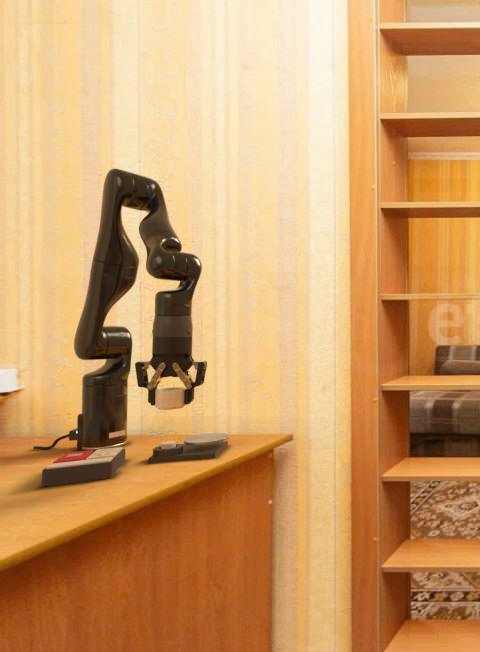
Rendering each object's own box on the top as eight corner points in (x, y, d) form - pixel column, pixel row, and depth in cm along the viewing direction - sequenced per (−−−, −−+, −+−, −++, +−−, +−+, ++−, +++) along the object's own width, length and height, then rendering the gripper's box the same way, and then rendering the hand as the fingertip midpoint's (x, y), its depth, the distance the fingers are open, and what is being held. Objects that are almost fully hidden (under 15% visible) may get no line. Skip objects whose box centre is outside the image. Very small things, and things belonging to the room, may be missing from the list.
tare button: (158, 450, 109) (158, 444, 109) (163, 447, 112) (163, 441, 112) (173, 449, 110) (173, 443, 110) (177, 446, 113) (177, 440, 113)
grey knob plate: (148, 463, 107) (148, 451, 107) (167, 449, 118) (167, 438, 118) (215, 458, 112) (215, 446, 112) (227, 445, 123) (227, 435, 123)
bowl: (150, 410, 101) (150, 391, 101) (161, 405, 106) (161, 387, 106) (181, 409, 103) (181, 390, 103) (190, 404, 108) (191, 386, 108)
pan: (177, 446, 112) (177, 444, 112) (191, 436, 121) (191, 434, 121) (223, 443, 115) (223, 441, 115) (232, 434, 124) (233, 432, 124)
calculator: (126, 445, 109) (112, 458, 97) (125, 462, 109) (111, 478, 96) (64, 451, 103) (41, 466, 91) (64, 469, 103) (40, 487, 90)
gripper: (213, 334, 110) (211, 400, 110) (143, 333, 105) (141, 402, 106) (203, 335, 103) (201, 406, 103) (128, 334, 98) (126, 408, 98)
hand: (171, 404), depth 104 cm, fingers closed on bowl, 6 cm apart
